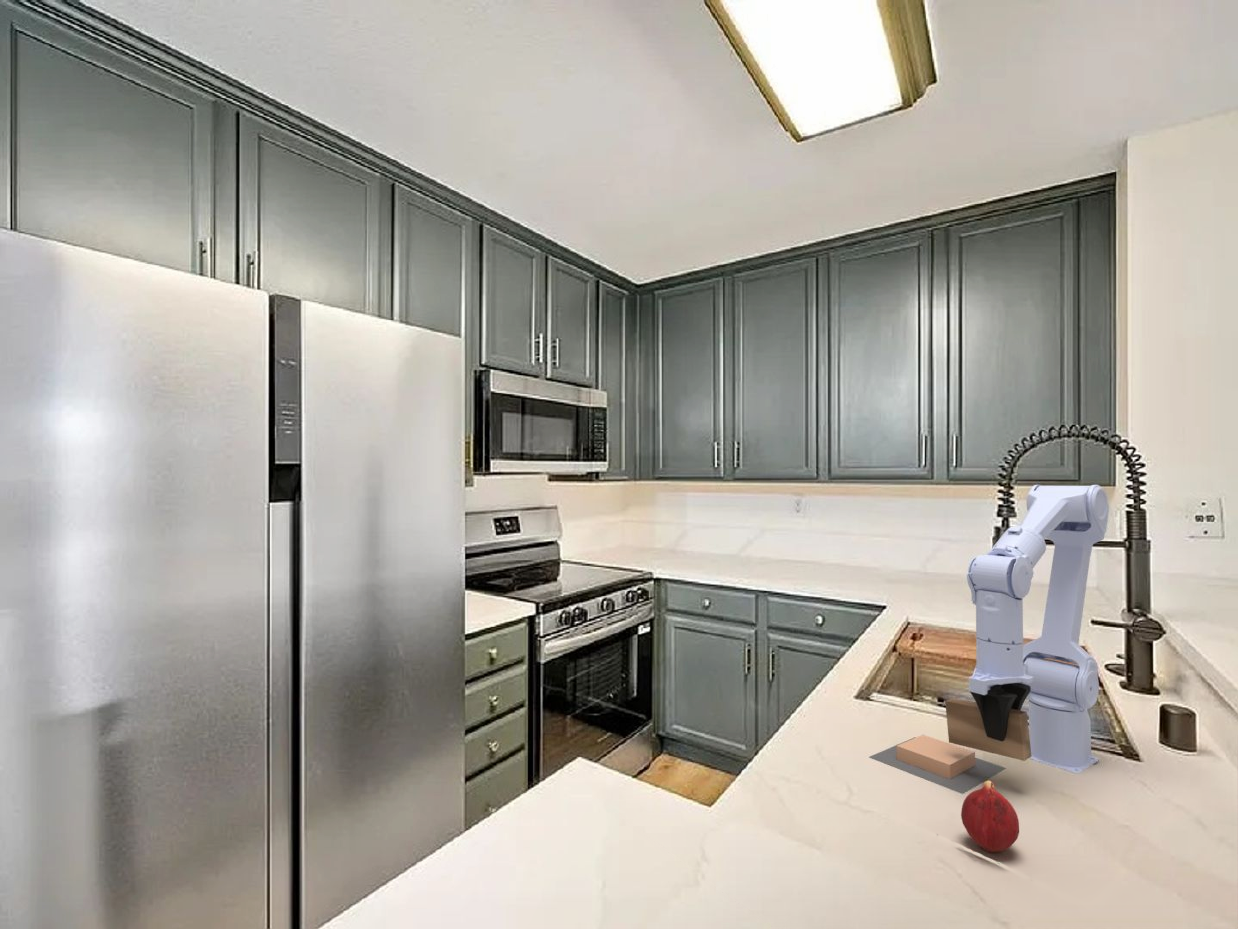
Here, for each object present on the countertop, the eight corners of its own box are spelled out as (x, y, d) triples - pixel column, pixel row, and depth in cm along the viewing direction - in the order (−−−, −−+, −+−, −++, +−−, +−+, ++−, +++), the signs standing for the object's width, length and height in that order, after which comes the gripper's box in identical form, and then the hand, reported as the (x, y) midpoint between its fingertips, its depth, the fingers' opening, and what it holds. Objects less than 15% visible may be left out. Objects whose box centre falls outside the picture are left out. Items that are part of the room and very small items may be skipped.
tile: (975, 765, 93) (922, 747, 99) (975, 752, 93) (922, 734, 99) (949, 779, 88) (896, 759, 95) (949, 765, 88) (896, 746, 95)
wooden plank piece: (956, 738, 93) (953, 697, 93) (1031, 756, 85) (1026, 711, 85) (948, 742, 91) (945, 701, 92) (1024, 761, 83) (1019, 715, 84)
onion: (1029, 871, 67) (1028, 797, 68) (972, 863, 69) (971, 791, 69) (1006, 842, 73) (1006, 773, 74) (954, 835, 74) (954, 768, 75)
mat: (914, 740, 103) (914, 737, 103) (1006, 771, 92) (1006, 768, 92) (868, 760, 95) (868, 757, 95) (962, 797, 84) (962, 793, 84)
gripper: (1008, 652, 80) (1009, 758, 79) (1051, 638, 88) (1052, 734, 88) (953, 641, 85) (953, 740, 85) (997, 629, 94) (998, 719, 93)
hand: (1000, 736), depth 87 cm, fingers closed on wooden plank piece, 2 cm apart
